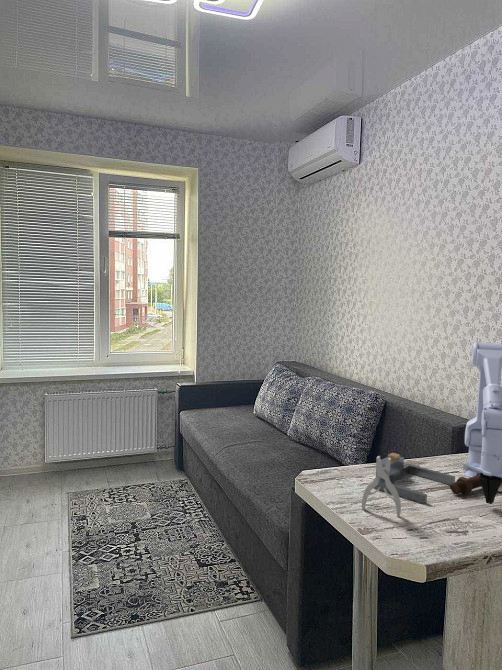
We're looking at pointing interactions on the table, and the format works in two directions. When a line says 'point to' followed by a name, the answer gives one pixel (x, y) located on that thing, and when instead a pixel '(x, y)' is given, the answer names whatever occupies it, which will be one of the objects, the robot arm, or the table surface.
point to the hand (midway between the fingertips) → (489, 502)
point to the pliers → (384, 475)
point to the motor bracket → (401, 470)
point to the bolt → (465, 484)
